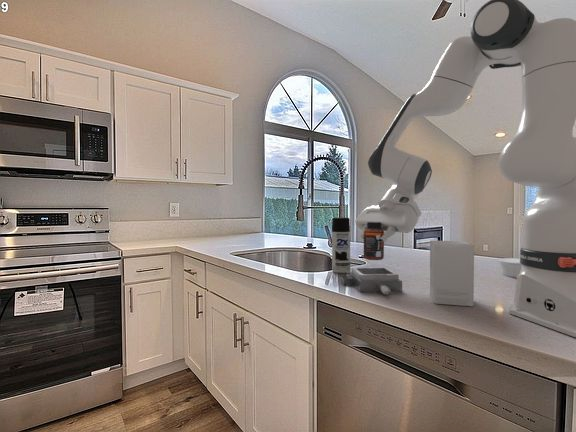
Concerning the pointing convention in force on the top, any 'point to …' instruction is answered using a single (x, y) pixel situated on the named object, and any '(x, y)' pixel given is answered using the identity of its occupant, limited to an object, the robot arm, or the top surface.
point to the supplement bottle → (373, 241)
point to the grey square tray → (373, 280)
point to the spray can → (341, 245)
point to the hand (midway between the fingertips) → (372, 239)
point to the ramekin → (510, 266)
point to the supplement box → (452, 273)
